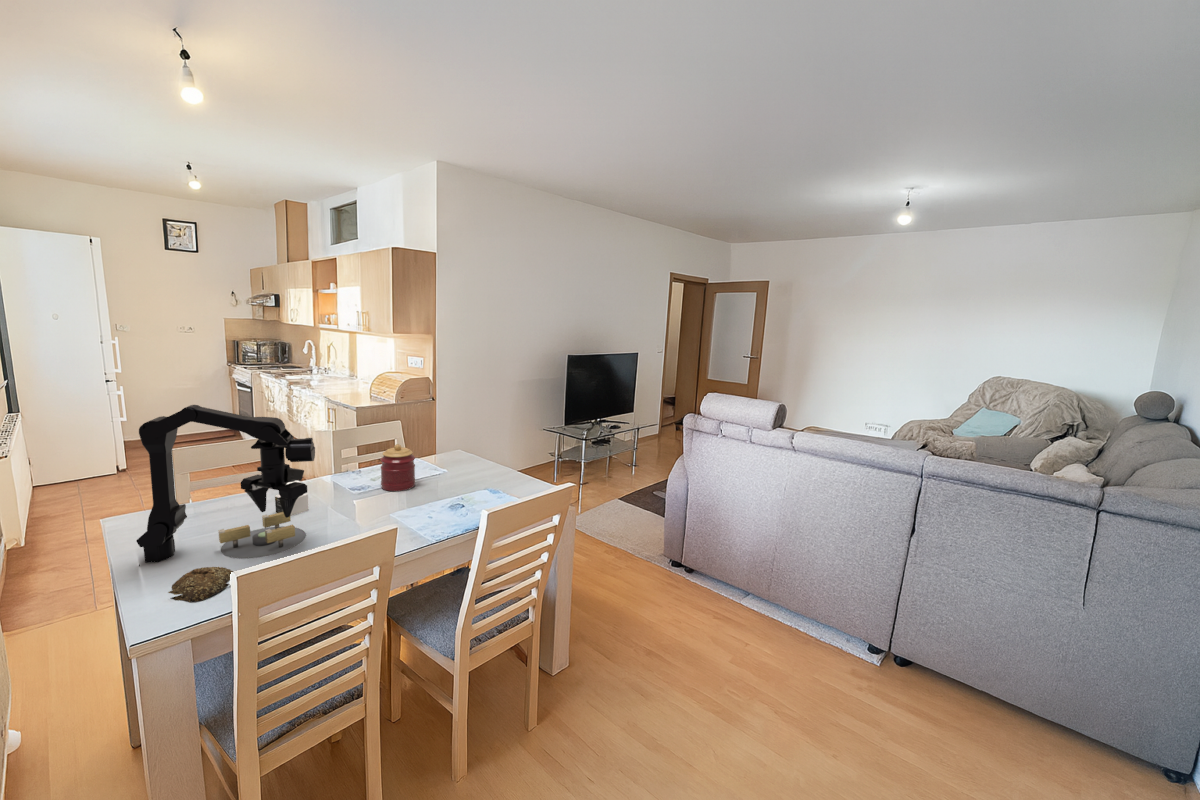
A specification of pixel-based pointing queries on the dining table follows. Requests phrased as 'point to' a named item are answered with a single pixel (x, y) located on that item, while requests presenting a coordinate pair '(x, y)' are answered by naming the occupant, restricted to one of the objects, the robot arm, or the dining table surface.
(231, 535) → the knob left
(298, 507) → the medicine bottle
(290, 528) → the knob near
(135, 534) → the dining table surface
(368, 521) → the dining table surface
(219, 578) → the brown speckled lumpy part
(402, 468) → the canister
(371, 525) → the dining table surface
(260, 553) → the levelling base
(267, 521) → the wooden plank block
